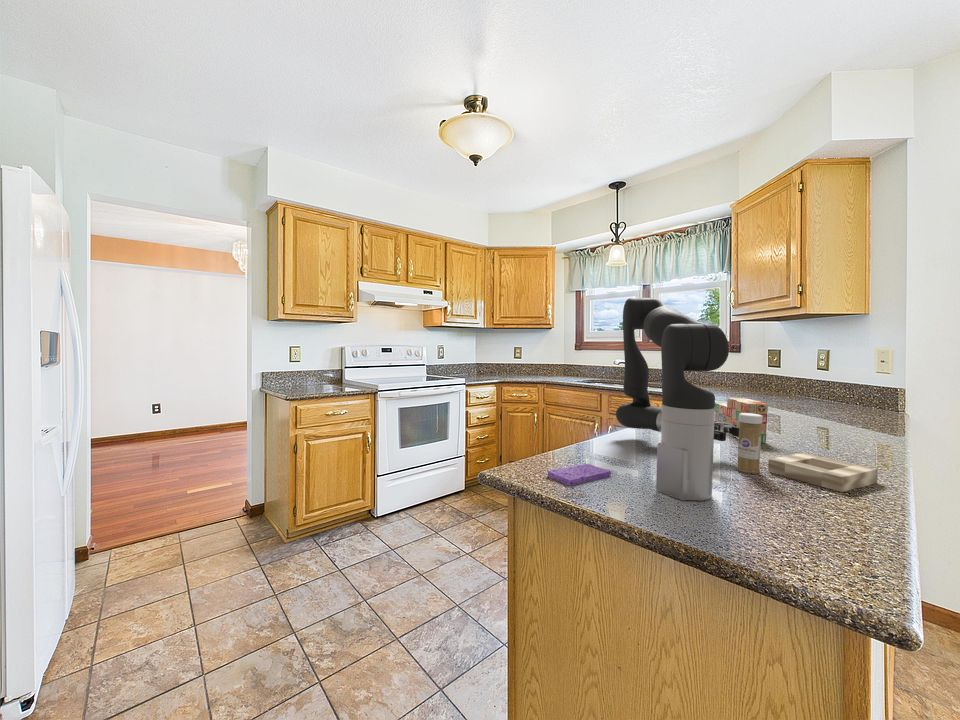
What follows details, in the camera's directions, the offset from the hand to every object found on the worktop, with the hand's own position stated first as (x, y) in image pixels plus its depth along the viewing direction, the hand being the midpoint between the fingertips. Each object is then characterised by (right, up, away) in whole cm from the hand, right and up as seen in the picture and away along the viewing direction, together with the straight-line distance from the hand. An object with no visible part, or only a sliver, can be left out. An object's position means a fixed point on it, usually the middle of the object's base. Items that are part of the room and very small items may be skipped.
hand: (736, 435), depth 97 cm
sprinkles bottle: (+1, -8, -2) cm, 9 cm away
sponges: (-39, -8, -7) cm, 41 cm away
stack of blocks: (+24, -7, +37) cm, 44 cm away
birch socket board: (+15, -8, -6) cm, 18 cm away
